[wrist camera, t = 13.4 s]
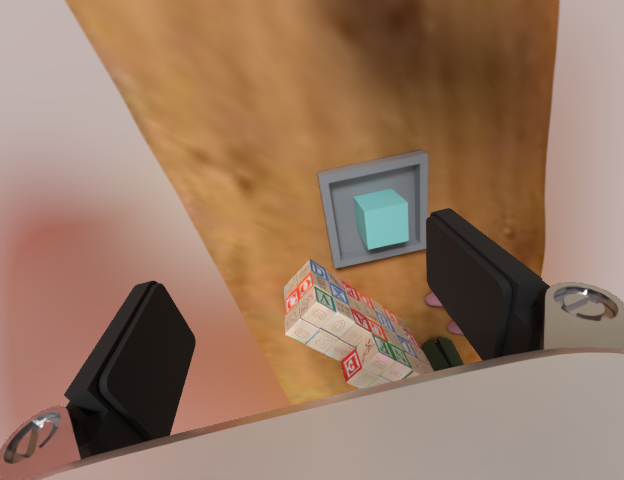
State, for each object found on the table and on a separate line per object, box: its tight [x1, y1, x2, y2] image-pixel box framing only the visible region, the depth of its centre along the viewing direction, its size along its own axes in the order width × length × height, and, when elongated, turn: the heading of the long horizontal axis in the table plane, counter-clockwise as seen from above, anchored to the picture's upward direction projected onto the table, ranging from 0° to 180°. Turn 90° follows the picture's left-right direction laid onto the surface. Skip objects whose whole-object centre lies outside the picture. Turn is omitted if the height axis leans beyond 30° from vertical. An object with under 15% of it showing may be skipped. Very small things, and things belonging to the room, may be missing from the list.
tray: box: [317, 150, 428, 269], centre depth 38 cm, size 13×13×2 cm
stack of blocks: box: [284, 259, 434, 389], centre depth 41 cm, size 21×6×12 cm, turn 50°
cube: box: [354, 189, 409, 250], centre depth 36 cm, size 5×5×5 cm
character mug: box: [421, 338, 464, 372], centre depth 47 cm, size 11×7×13 cm, turn 107°
